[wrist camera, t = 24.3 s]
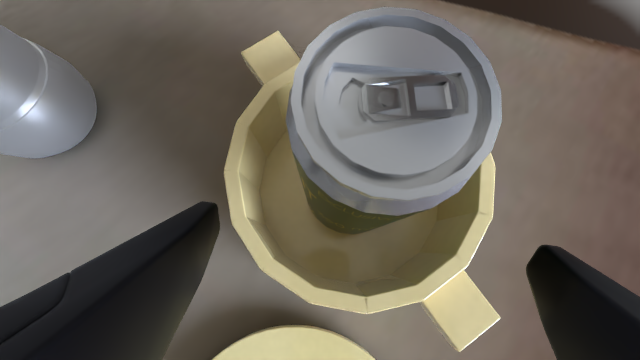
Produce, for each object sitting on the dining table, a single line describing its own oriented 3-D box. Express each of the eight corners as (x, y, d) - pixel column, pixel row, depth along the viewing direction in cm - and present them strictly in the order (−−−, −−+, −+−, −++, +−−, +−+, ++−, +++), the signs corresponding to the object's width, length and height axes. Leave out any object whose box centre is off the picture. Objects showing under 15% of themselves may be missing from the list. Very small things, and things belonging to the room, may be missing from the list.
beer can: (387, 148, 19) (489, -7, 8) (397, 232, 18) (535, 203, 6) (304, 152, 19) (277, 4, 8) (308, 237, 18) (283, 217, 6)
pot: (345, 42, 22) (353, -26, 16) (516, 250, 18) (597, 251, 13) (195, 135, 20) (150, 94, 15) (353, 379, 17) (368, 442, 11)
